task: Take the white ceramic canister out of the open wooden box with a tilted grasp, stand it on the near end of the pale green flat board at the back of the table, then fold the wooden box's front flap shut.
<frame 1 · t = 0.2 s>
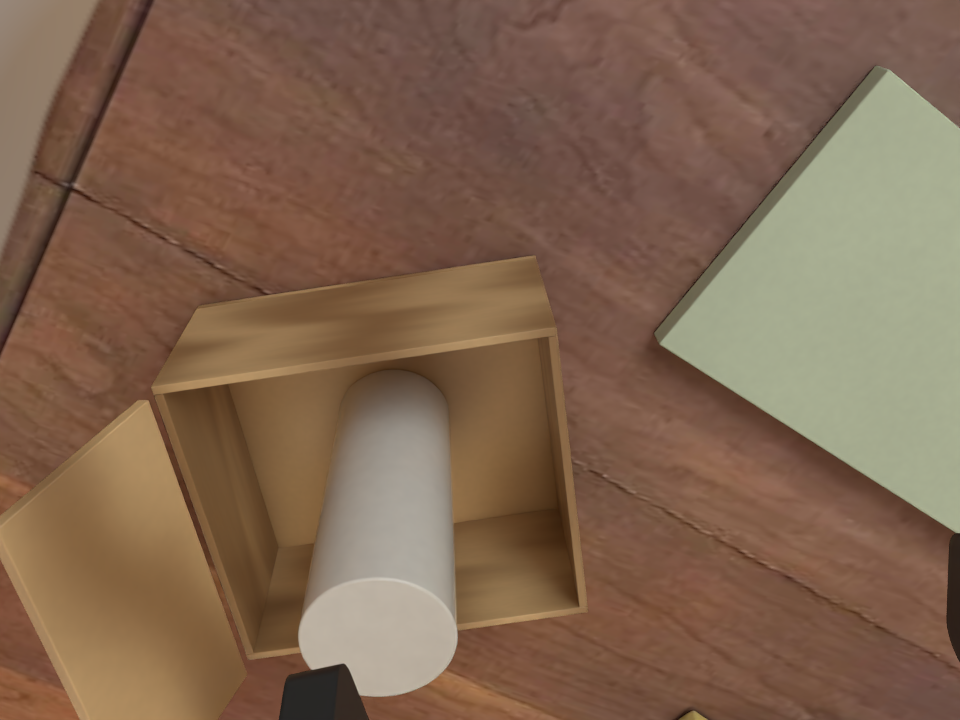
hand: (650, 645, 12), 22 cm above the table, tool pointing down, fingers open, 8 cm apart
canister: (394, 417, 35), resting on wooden box
flap: (141, 615, 27), point 10 cm above the table, hinge at 110.0°
wooden box: (394, 413, 35), on the table
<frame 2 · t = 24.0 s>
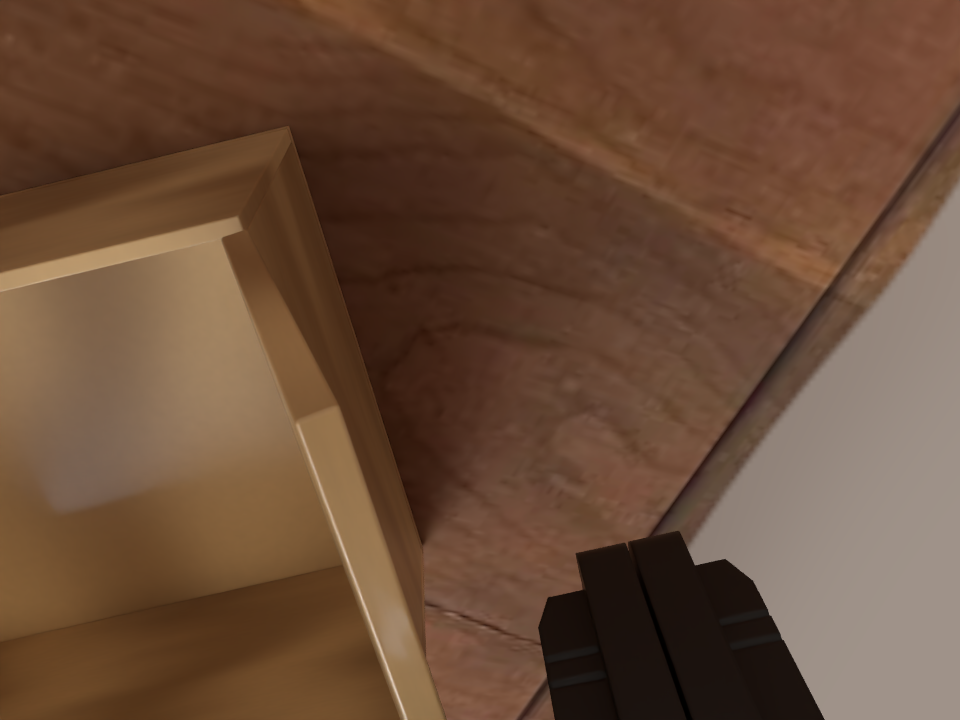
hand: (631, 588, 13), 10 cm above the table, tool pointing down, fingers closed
flap: (397, 665, 12), point 10 cm above the table, hinge at 106.6°, touching gripper
wooden box: (112, 421, 22), on the table
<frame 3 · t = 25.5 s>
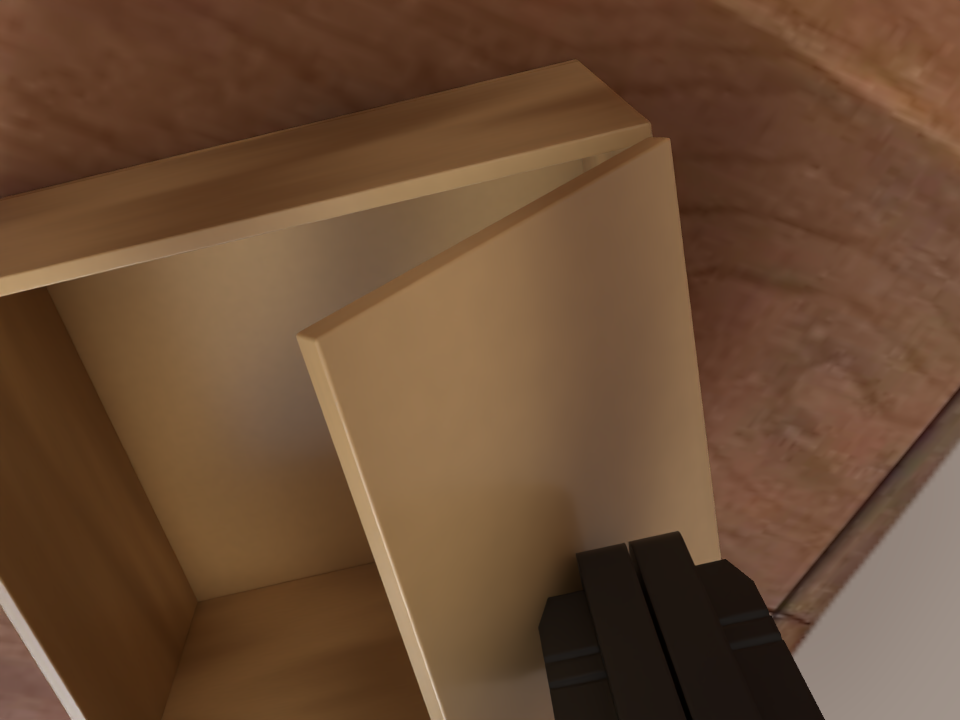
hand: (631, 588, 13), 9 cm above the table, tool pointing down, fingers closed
flap: (588, 584, 13), point 9 cm above the table, hinge at 41.1°
wooden box: (360, 367, 21), on the table
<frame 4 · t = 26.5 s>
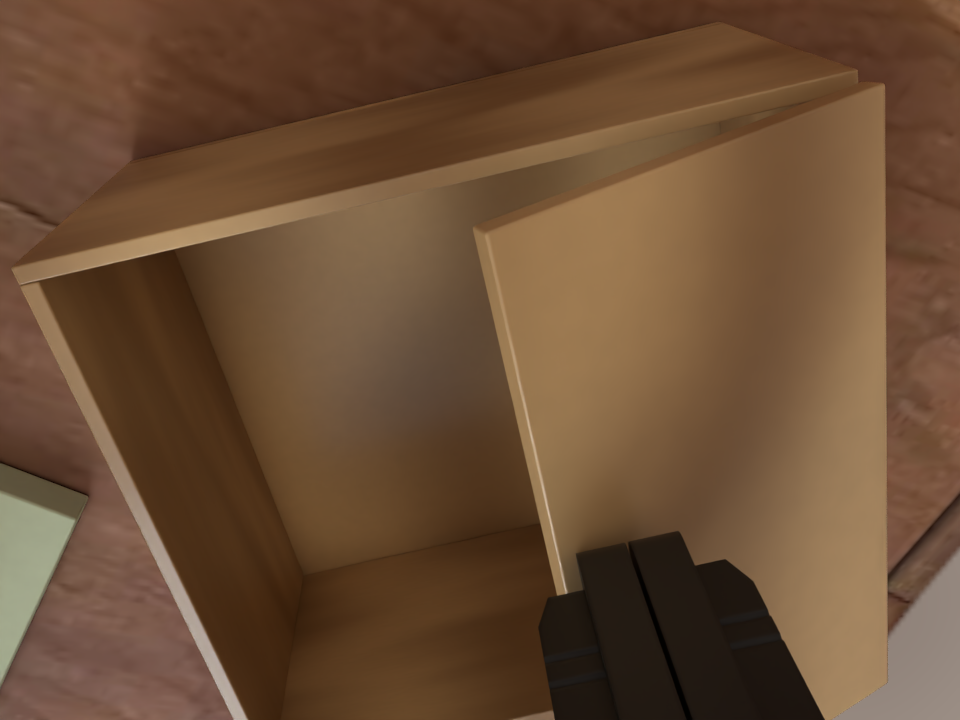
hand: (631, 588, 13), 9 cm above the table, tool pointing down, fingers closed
flap: (730, 510, 14), point 8 cm above the table, hinge at 22.0°, touching gripper
wooden box: (480, 337, 21), on the table
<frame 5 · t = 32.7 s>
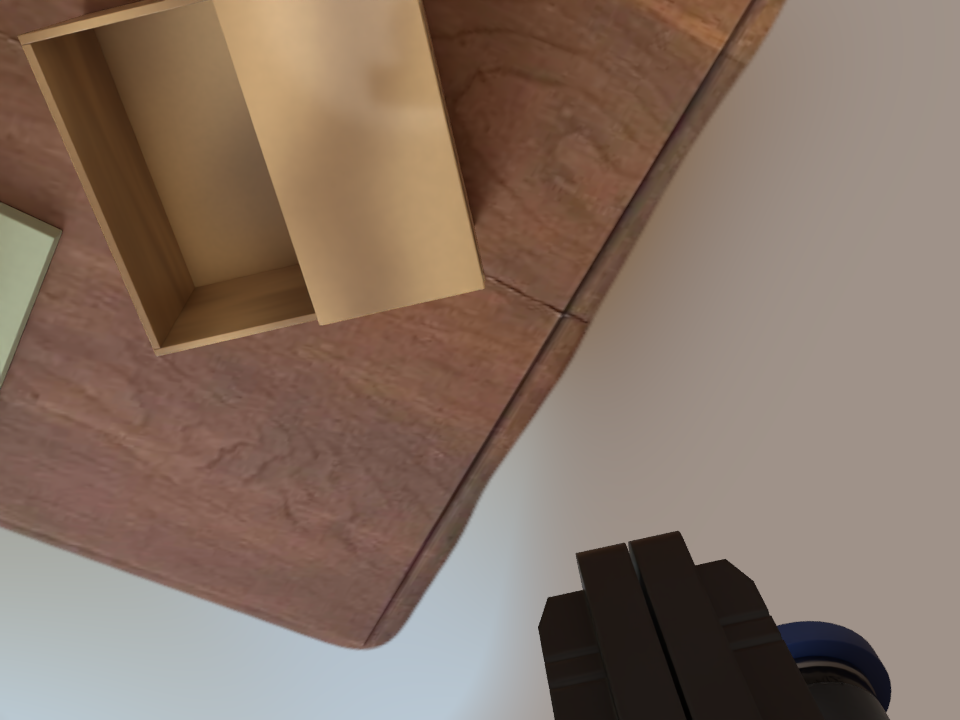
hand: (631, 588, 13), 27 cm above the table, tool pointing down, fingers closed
flap: (359, 151, 30), point 7 cm above the table, hinge at -0.3°
wooden box: (291, 128, 36), on the table
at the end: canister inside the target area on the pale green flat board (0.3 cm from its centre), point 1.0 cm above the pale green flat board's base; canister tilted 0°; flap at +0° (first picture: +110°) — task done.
